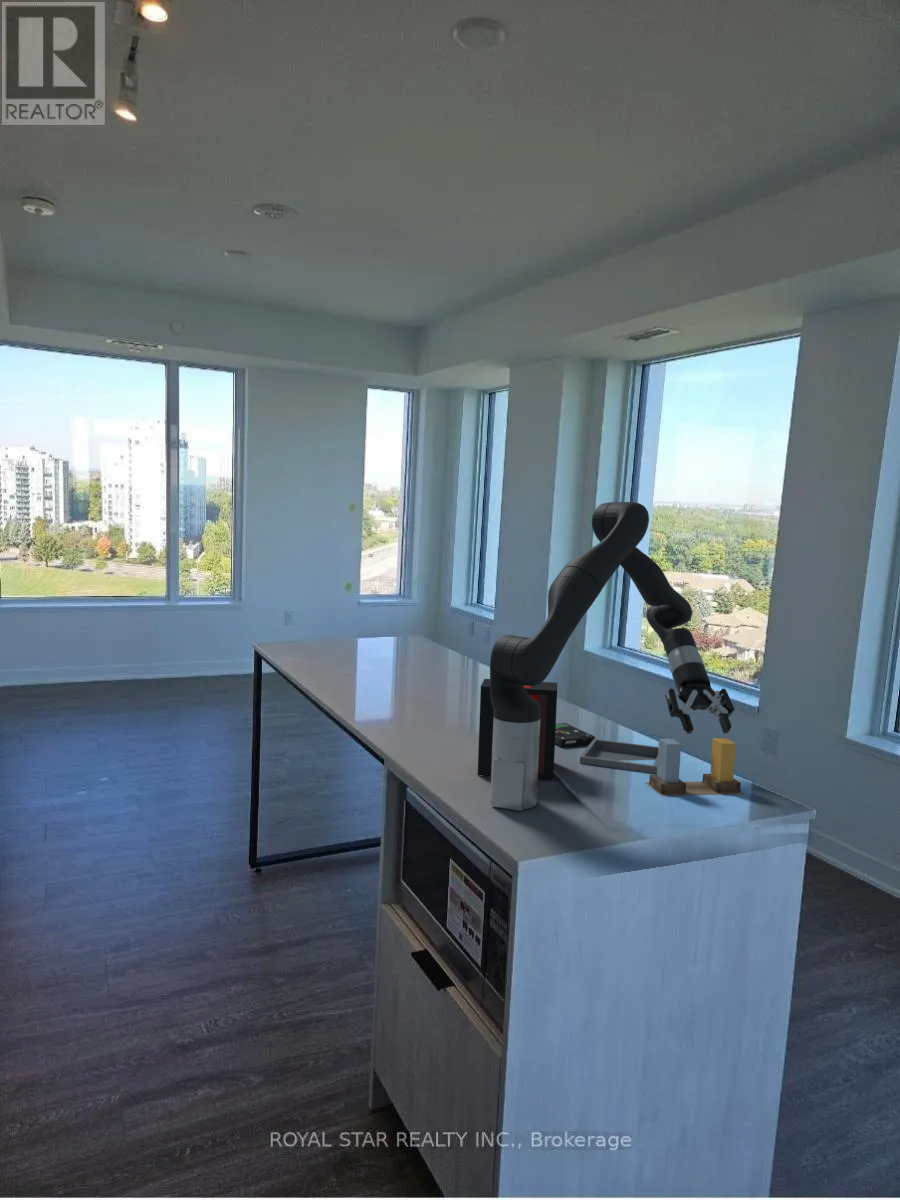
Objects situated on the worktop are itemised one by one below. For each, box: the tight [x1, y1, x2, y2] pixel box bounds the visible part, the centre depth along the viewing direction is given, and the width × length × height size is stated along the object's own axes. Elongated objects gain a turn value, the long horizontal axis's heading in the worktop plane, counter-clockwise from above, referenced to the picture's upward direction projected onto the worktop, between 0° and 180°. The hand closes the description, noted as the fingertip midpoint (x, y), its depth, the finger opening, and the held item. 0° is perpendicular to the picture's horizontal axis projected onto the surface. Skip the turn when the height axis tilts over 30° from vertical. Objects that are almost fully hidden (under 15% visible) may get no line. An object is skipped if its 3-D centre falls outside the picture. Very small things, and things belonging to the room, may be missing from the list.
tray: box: [579, 738, 659, 775], centre depth 182 cm, size 17×17×3 cm
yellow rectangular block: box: [709, 737, 736, 782], centre depth 163 cm, size 4×3×10 cm
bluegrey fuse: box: [656, 738, 682, 783], centre depth 161 cm, size 4×3×10 cm
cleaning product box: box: [477, 678, 558, 782], centre depth 173 cm, size 16×9×20 cm, turn 82°
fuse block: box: [645, 773, 744, 797], centre depth 162 cm, size 8×18×4 cm, turn 99°
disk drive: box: [555, 722, 596, 749], centre depth 204 cm, size 10×3×15 cm
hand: (709, 731), depth 169 cm, fingers open, 8 cm apart
